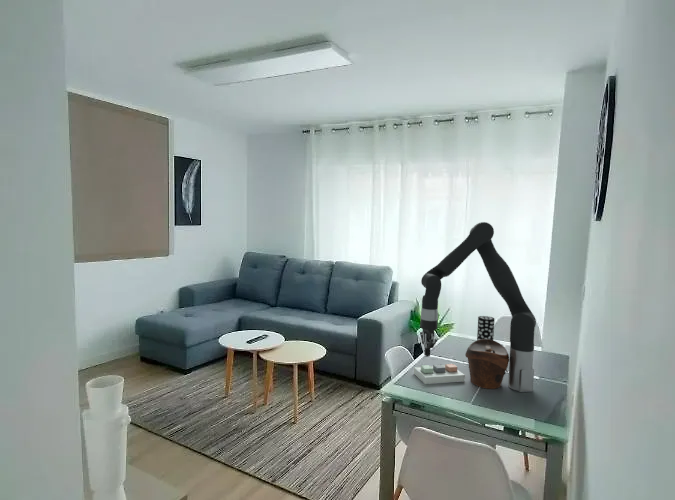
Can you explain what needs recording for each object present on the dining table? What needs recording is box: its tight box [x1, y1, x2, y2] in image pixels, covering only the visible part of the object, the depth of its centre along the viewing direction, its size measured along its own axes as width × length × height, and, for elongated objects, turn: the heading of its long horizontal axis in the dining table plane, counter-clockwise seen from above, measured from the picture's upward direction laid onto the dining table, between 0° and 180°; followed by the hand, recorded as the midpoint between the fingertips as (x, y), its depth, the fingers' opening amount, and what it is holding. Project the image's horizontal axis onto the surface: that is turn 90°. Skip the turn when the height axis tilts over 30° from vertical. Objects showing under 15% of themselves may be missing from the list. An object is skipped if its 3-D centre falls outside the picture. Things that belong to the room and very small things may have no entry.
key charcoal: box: [432, 364, 445, 372], centre depth 178 cm, size 4×4×2 cm
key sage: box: [420, 364, 433, 373], centre depth 177 cm, size 4×4×2 cm
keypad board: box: [413, 365, 466, 385], centre depth 179 cm, size 12×19×3 cm, turn 103°
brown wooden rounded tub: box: [465, 339, 510, 390], centre depth 173 cm, size 18×20×18 cm
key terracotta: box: [444, 363, 458, 372], centre depth 180 cm, size 4×4×2 cm
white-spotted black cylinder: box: [476, 315, 495, 341], centre depth 213 cm, size 8×8×20 cm
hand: (427, 355), depth 177 cm, fingers closed
